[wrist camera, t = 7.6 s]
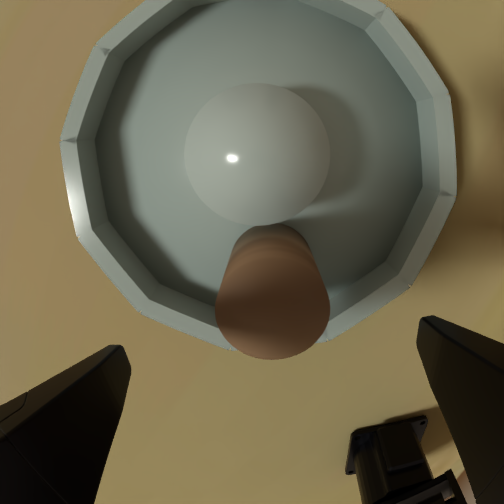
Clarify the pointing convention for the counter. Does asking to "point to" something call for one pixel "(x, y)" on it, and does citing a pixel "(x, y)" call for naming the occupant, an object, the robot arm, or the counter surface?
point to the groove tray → (302, 61)
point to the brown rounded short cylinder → (272, 294)
